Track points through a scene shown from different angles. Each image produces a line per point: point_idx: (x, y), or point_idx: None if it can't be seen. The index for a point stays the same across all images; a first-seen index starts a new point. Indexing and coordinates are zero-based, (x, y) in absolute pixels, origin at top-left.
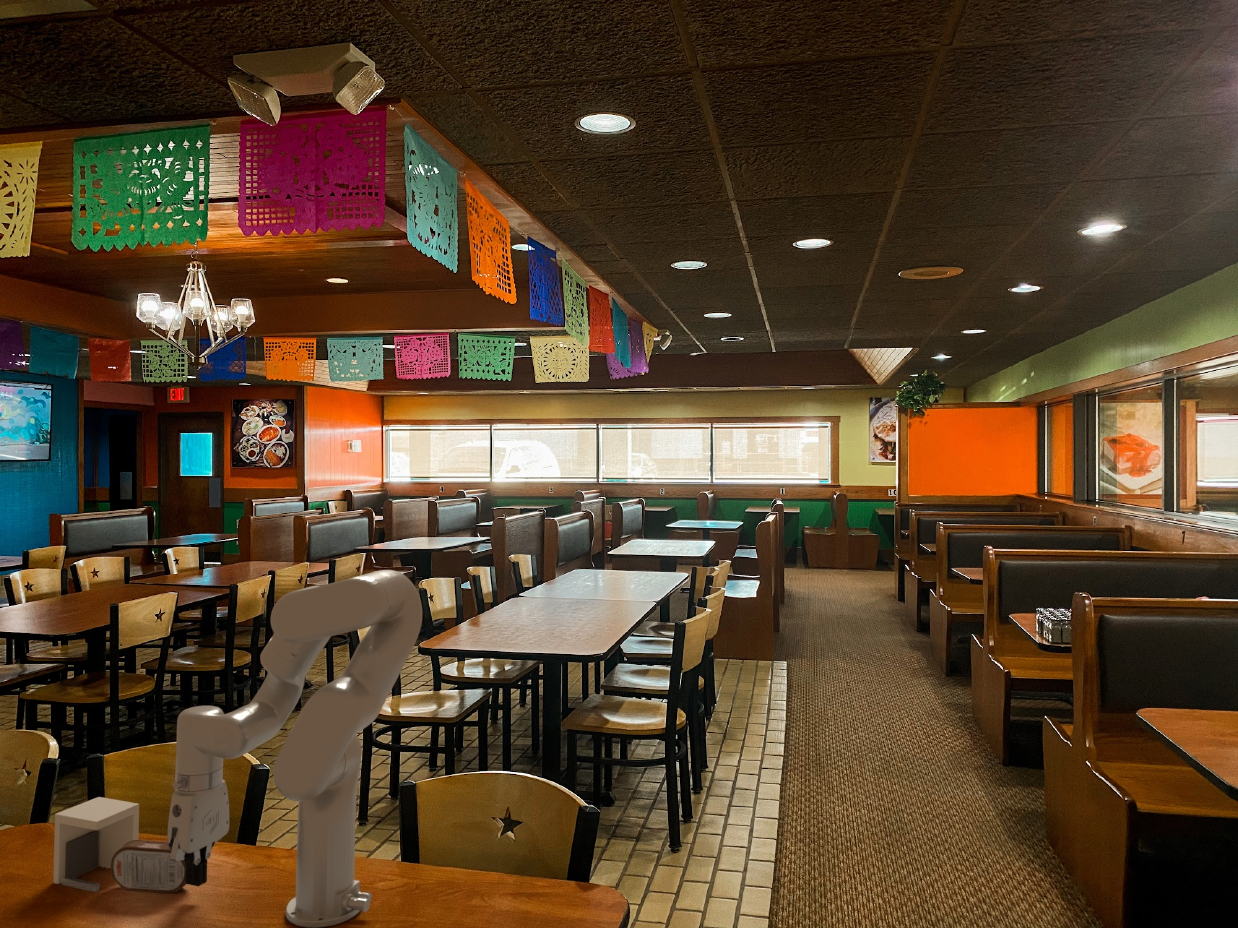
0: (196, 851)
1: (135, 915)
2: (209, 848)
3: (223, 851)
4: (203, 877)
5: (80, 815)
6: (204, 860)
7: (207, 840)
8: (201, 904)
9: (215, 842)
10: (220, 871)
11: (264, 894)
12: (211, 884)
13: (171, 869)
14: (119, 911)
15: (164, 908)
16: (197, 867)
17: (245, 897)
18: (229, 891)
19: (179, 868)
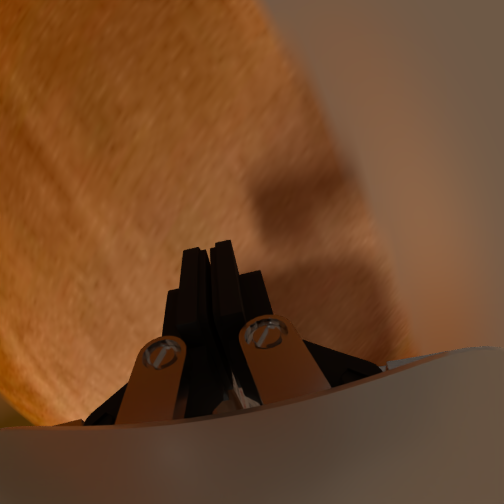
0: (303, 393)
1: (382, 292)
2: (144, 394)
3: (37, 404)
4: (204, 262)
5: None
6: (191, 333)
7: (250, 463)
8: (231, 184)
9: (76, 421)
10: (65, 341)
11: (34, 58)
12: (118, 295)
13: (253, 401)
14: (376, 338)
15: (320, 267)
16: (245, 310)
17: (87, 89)
18: (98, 193)
19: (239, 389)
